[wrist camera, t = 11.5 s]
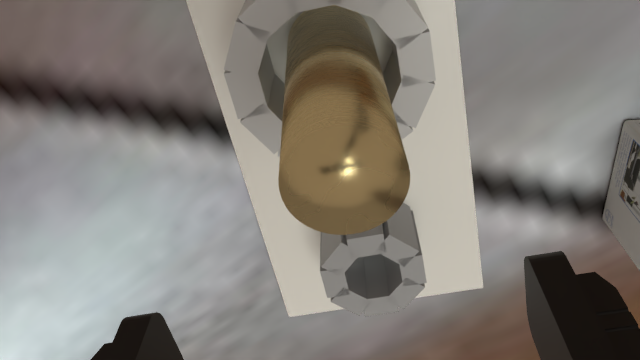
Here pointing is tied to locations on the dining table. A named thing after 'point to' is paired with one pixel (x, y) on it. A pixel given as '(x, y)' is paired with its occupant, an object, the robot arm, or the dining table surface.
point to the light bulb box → (626, 192)
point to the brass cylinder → (338, 127)
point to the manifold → (416, 134)
